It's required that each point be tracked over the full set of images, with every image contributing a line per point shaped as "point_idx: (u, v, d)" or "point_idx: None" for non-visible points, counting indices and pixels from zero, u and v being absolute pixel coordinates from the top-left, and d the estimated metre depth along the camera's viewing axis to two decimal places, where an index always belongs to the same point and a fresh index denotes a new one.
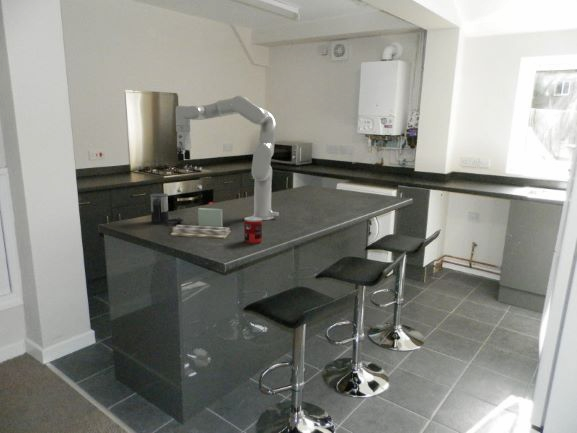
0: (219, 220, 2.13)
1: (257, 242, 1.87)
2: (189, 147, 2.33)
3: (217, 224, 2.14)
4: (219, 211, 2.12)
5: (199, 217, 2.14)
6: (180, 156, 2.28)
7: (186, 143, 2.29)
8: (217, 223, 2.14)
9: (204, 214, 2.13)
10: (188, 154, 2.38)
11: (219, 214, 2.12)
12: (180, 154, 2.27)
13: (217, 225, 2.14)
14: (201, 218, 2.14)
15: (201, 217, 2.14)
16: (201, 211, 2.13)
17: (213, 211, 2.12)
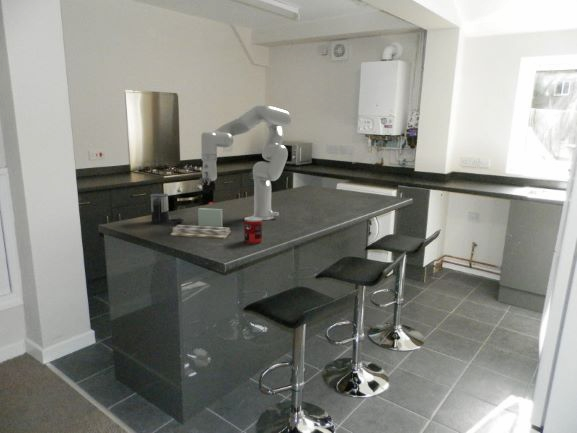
0: (219, 220, 2.13)
1: (257, 242, 1.87)
2: (215, 177, 2.11)
3: (217, 224, 2.14)
4: (219, 211, 2.12)
5: (199, 217, 2.14)
6: (206, 188, 2.05)
7: (212, 173, 2.06)
8: (217, 223, 2.14)
9: (204, 214, 2.13)
10: (213, 184, 2.15)
11: (219, 214, 2.12)
12: (206, 186, 2.05)
13: (217, 225, 2.14)
14: (201, 218, 2.14)
15: (201, 217, 2.14)
16: (201, 211, 2.13)
17: (213, 211, 2.12)
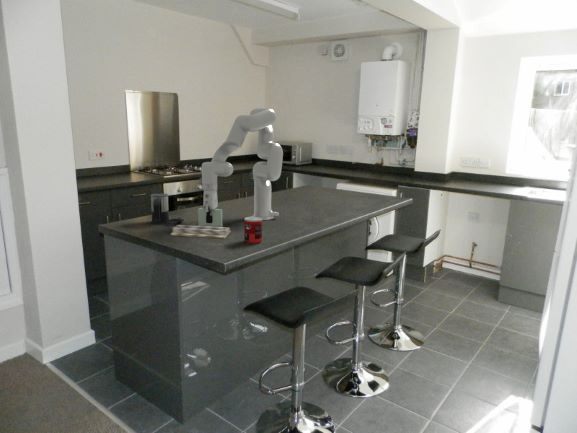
0: (219, 220, 2.13)
1: (257, 242, 1.87)
2: (216, 206, 2.14)
3: (217, 224, 2.14)
4: (219, 211, 2.12)
5: (199, 217, 2.14)
6: (208, 218, 2.12)
7: (213, 203, 2.10)
8: (217, 223, 2.14)
9: (204, 214, 2.13)
10: None
11: (219, 214, 2.12)
12: (209, 216, 2.12)
13: (217, 225, 2.14)
14: (201, 218, 2.14)
15: (201, 217, 2.14)
16: (201, 211, 2.13)
17: (213, 211, 2.12)
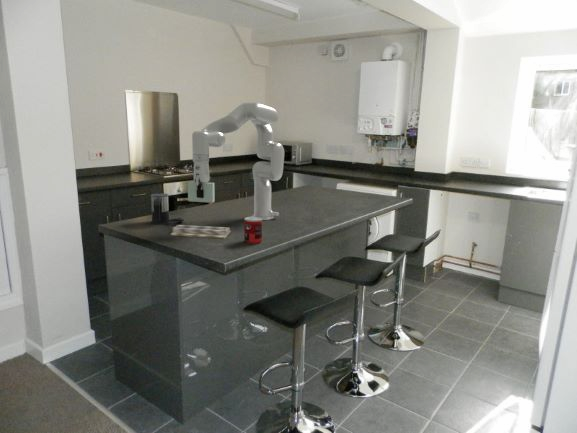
0: (210, 194, 1.97)
1: (257, 242, 1.87)
2: (207, 179, 1.98)
3: (208, 199, 1.97)
4: (211, 184, 1.96)
5: (189, 191, 1.98)
6: (199, 192, 1.96)
7: (204, 175, 1.93)
8: (208, 198, 1.97)
9: (195, 187, 1.97)
10: None
11: (211, 188, 1.96)
12: (199, 190, 1.95)
13: (208, 200, 1.97)
14: (191, 192, 1.98)
15: (191, 191, 1.98)
16: (191, 184, 1.97)
17: (204, 185, 1.96)
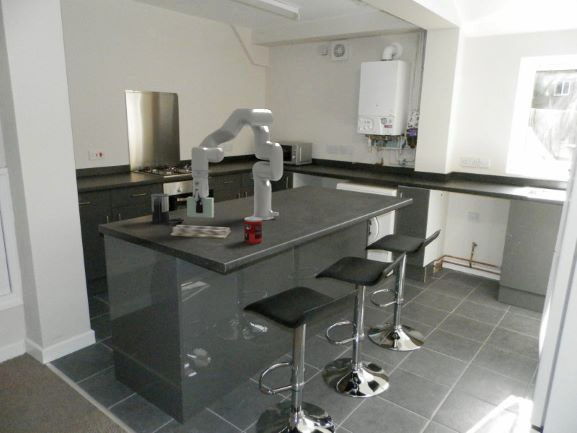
0: (210, 210, 1.96)
1: (257, 242, 1.87)
2: (206, 194, 1.98)
3: (208, 214, 1.97)
4: (210, 200, 1.95)
5: (188, 206, 1.97)
6: (198, 208, 1.96)
7: (203, 191, 1.93)
8: (208, 213, 1.97)
9: (194, 203, 1.97)
10: None
11: (210, 203, 1.96)
12: (199, 205, 1.95)
13: (208, 215, 1.97)
14: (190, 207, 1.97)
15: (190, 206, 1.97)
16: (190, 199, 1.97)
17: (203, 200, 1.96)
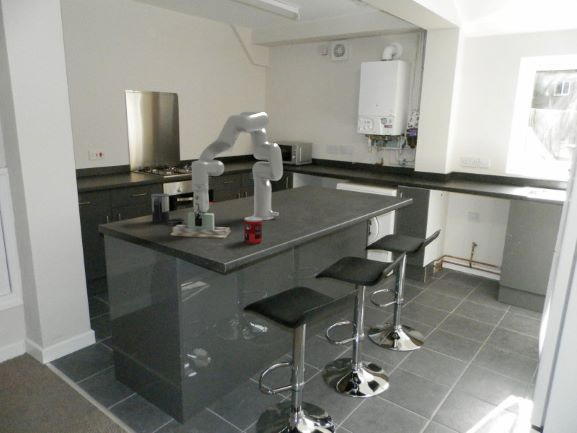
0: (210, 225, 1.99)
1: (257, 242, 1.87)
2: (207, 208, 1.99)
3: None
4: (210, 216, 1.97)
5: (189, 222, 1.99)
6: (198, 221, 1.95)
7: (204, 204, 1.95)
8: None
9: None
10: None
11: (210, 219, 1.98)
12: (198, 219, 1.95)
13: None
14: (191, 223, 1.99)
15: (191, 222, 1.99)
16: (191, 215, 1.98)
17: (204, 216, 1.98)
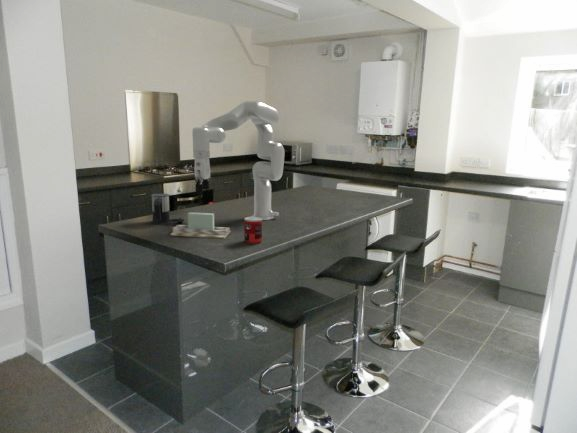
0: (210, 225, 1.99)
1: (257, 242, 1.87)
2: (208, 175, 1.98)
3: None
4: (210, 216, 1.97)
5: (189, 222, 1.99)
6: (198, 187, 1.92)
7: (205, 171, 1.93)
8: None
9: (195, 219, 1.99)
10: (207, 183, 2.02)
11: (210, 219, 1.98)
12: (198, 185, 1.92)
13: None
14: (191, 223, 1.99)
15: (191, 222, 1.99)
16: (191, 215, 1.99)
17: (204, 216, 1.98)
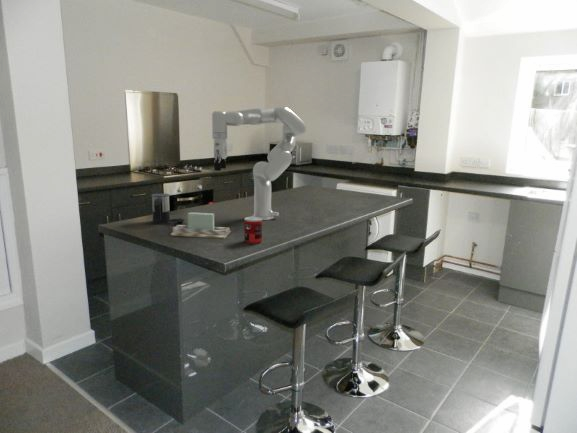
0: (210, 225, 1.99)
1: (257, 242, 1.87)
2: (226, 155, 2.17)
3: None
4: (210, 216, 1.97)
5: (189, 222, 1.99)
6: (217, 165, 2.12)
7: (223, 151, 2.13)
8: None
9: (195, 219, 1.99)
10: (224, 163, 2.22)
11: (210, 219, 1.98)
12: (217, 163, 2.11)
13: None
14: (191, 223, 1.99)
15: (191, 222, 1.99)
16: (191, 215, 1.99)
17: (204, 216, 1.98)
